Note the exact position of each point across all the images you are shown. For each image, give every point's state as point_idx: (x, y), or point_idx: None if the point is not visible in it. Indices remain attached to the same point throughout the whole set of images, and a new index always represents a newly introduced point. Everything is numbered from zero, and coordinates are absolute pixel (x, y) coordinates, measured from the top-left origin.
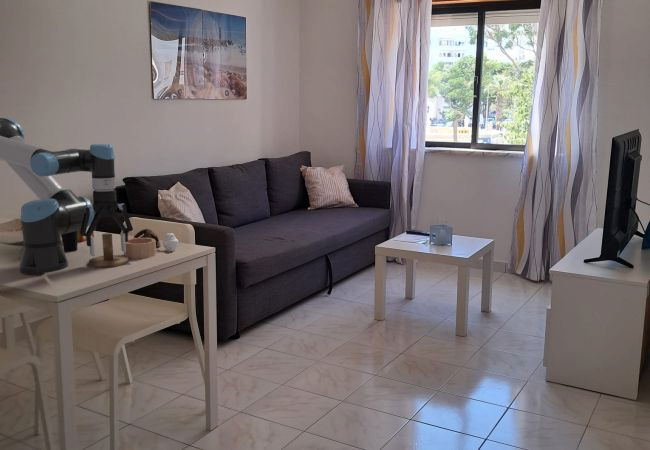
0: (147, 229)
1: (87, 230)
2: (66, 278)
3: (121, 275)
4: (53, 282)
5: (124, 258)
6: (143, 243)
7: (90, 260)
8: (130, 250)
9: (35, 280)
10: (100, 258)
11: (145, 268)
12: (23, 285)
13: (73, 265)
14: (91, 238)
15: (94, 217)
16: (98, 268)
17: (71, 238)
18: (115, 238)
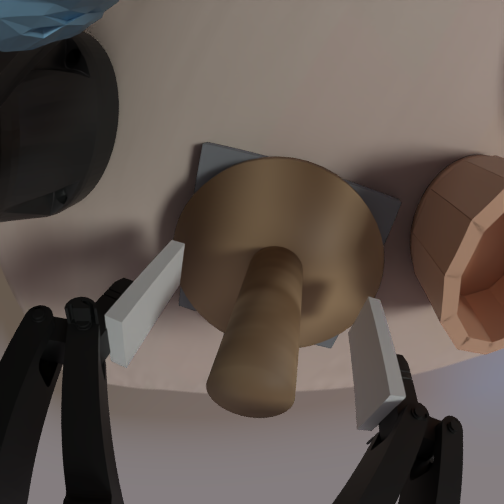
0: None
1: (65, 352)
2: (82, 295)
3: None
4: (54, 300)
5: (346, 309)
6: (475, 345)
7: (190, 212)
8: (428, 285)
9: (21, 244)
10: (256, 213)
11: (340, 386)
12: (7, 265)
13: (144, 125)
14: (118, 356)
15: (72, 501)
16: (190, 307)
17: None
18: None
